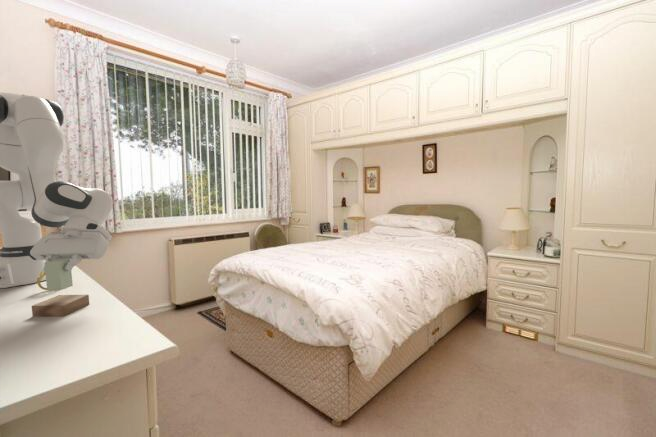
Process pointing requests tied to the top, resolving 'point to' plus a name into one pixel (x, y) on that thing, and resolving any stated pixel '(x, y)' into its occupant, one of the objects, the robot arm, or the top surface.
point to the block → (57, 275)
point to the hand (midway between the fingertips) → (56, 270)
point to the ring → (40, 279)
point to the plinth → (60, 305)
